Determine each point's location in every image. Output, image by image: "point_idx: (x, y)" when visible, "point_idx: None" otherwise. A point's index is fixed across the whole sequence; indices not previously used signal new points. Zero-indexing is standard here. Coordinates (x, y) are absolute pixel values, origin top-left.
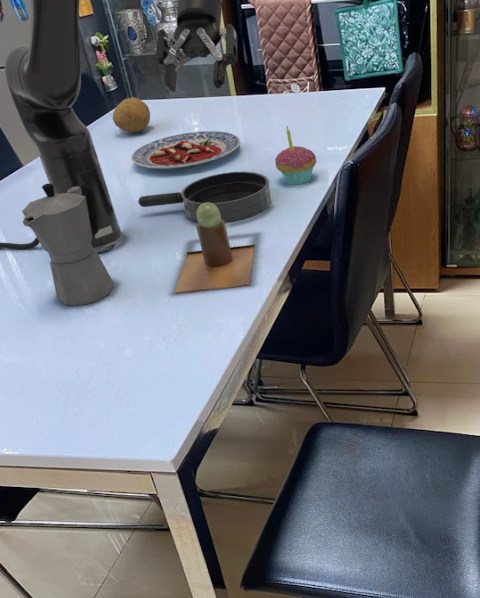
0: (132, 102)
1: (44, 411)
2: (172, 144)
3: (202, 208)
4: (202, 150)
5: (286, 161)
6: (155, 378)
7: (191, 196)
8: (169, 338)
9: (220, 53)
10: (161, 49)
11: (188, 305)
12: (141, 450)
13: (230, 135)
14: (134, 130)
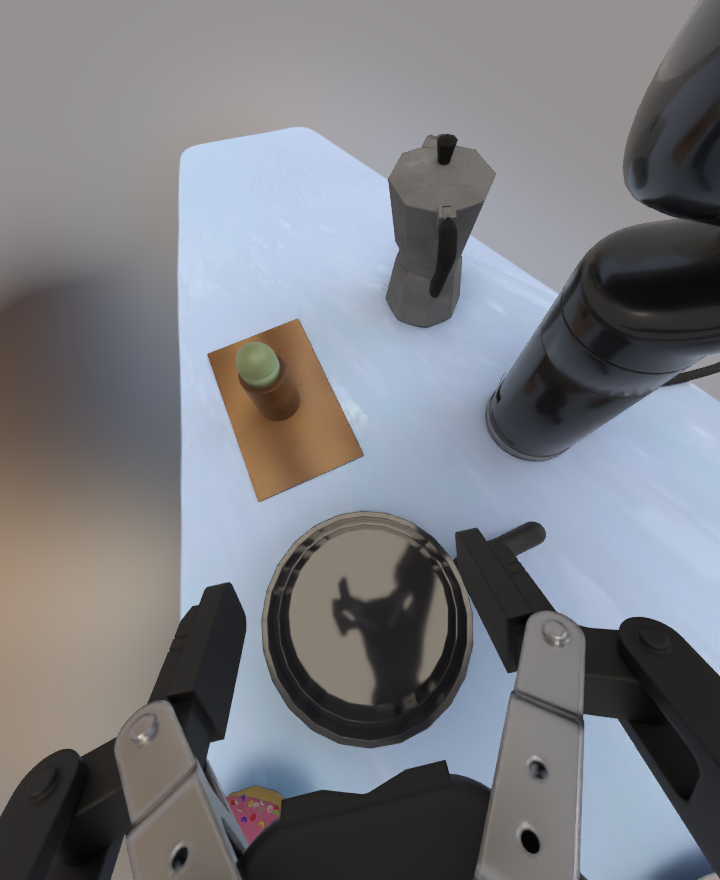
0: None
1: (309, 156)
2: None
3: (253, 342)
4: None
5: (248, 811)
6: (237, 203)
7: (454, 603)
8: (256, 249)
9: (118, 767)
10: (704, 730)
11: (267, 302)
12: (205, 148)
13: None
14: None
